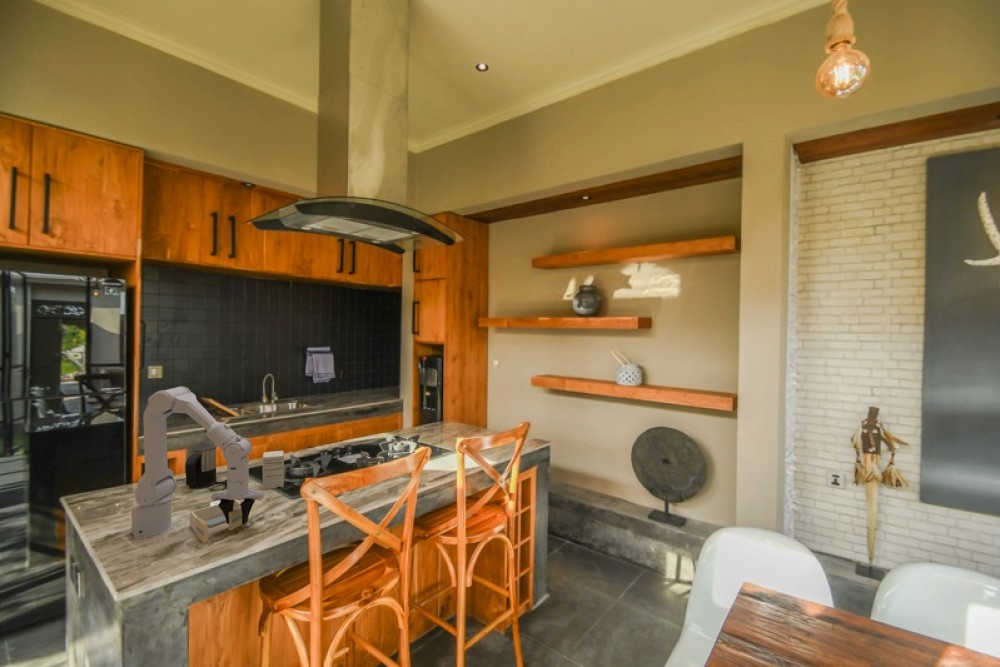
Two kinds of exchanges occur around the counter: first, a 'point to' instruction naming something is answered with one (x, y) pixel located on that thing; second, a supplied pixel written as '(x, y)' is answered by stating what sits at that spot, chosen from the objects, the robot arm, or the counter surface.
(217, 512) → the carton
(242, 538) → the counter surface
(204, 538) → the flap left
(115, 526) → the counter surface
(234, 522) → the flap right
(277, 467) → the supplement box
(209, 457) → the milk frother
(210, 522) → the booklet
